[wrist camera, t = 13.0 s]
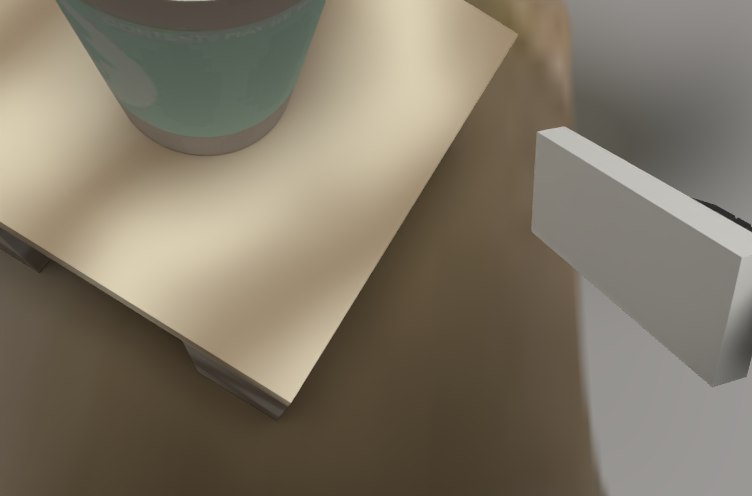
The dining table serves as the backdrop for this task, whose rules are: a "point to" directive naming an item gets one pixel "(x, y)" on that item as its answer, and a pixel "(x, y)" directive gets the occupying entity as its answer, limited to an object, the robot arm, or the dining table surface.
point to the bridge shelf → (239, 181)
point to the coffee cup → (198, 64)
